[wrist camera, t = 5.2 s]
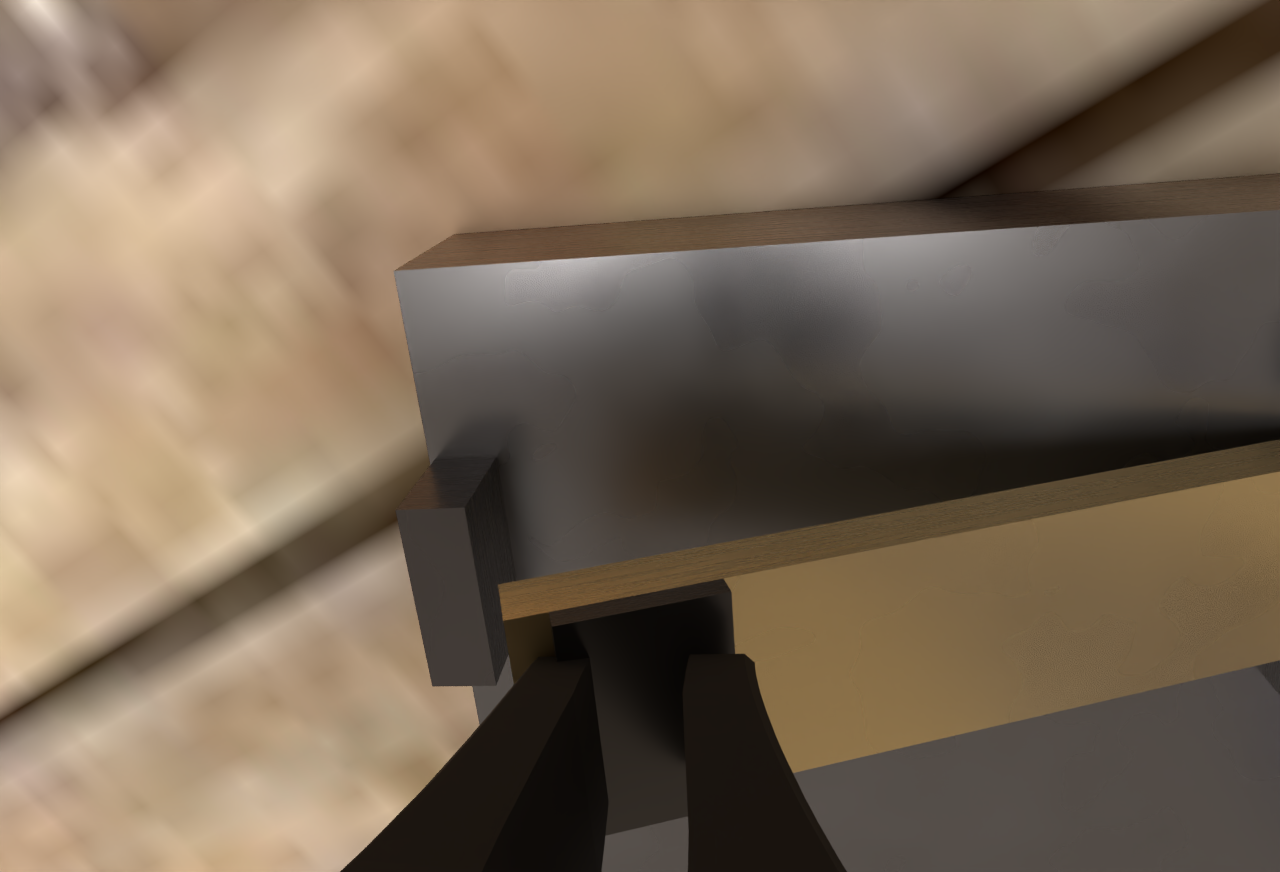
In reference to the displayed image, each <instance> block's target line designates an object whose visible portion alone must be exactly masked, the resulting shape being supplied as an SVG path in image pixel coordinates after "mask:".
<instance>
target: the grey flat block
mask: <svg viewBox="0 0 1280 872" xmlns="http://www.w3.org/2000/svg"><path fill="white" fill-rule="evenodd" d="M394 275H395V280H396V286H397V291H398V296H399V301H400V307H401V312H402V317H403V323H404V328H405V333H406V338H407V344H408V349H409V354H410V359H411V365H412V370H413V375H414V381H415V386H416V391H417V396H418V402H419V407H420V412H421V418H422V423H423V428H424V433H425V439H426V444H427V449H428V455H429V460H430V466H429V467H428V469H427V470H426V471H425V473H424V474H423V475H422V476H421V478H420V479H419V480H418V482H417V483H416V484H415V486H414V487H413V488H412V489H411V491H410V492H409V493H408V495H407V496H406V497H405V498H404V500H403V501H402V502H401V504H400V505H399V506H398V508H397V509H396V514H397V519H398V524H399V529H400V534H401V538H402V543H403V548H404V553H405V558H406V562H407V567H408V572H409V577H410V581H411V586H412V591H413V596H414V601H415V605H416V610H417V615H418V620H419V625H420V629H421V634H422V639H423V644H424V648H425V653H426V658H427V663H428V668H429V672H430V677H431V682H432V686H472V687H473V692H474V697H475V703H476V708H477V713H478V719H479V724H481V723H482V722H483V721H484V720H485V719H486V717H487V716H488V715H489V714H490V713H491V711H492V710H493V709H494V708H495V707H496V705H497V704H498V703H499V702H500V701H501V699H502V698H503V697H504V696H505V695H506V693H507V692H508V691H509V690H510V689H511V687H512V686H513V685H514V682H513V677H512V671H511V665H510V659H509V653H508V647H507V641H506V635H505V629H504V623H503V617H502V610H501V602H500V595H499V588H498V584H503V583H509V582H514V581H520V580H525V579H530V578H536V577H541V576H546V575H552V574H557V573H563V572H568V571H573V570H579V569H584V568H590V567H595V566H600V565H606V564H611V563H616V562H622V561H627V560H633V559H638V558H643V557H649V556H654V555H660V554H665V553H670V552H676V551H681V550H686V549H692V548H697V547H703V546H708V545H713V544H719V543H724V542H730V541H735V540H740V539H746V538H751V537H757V536H762V535H767V534H773V533H778V532H783V531H789V530H794V529H800V528H805V527H810V526H816V525H821V524H827V523H832V522H837V521H843V520H848V519H853V518H859V517H864V516H870V515H875V514H880V513H886V512H891V511H897V510H902V509H907V508H913V507H918V506H923V505H929V504H934V503H940V502H945V501H950V500H956V499H961V498H967V497H972V496H977V495H983V494H988V493H994V492H999V491H1004V490H1010V489H1015V488H1020V487H1026V486H1031V485H1037V484H1042V483H1047V482H1053V481H1058V480H1064V479H1069V478H1074V477H1080V476H1085V475H1090V474H1096V473H1101V472H1107V471H1112V470H1117V469H1123V468H1128V467H1134V466H1139V465H1144V464H1150V463H1155V462H1160V461H1166V460H1171V459H1177V458H1182V457H1187V456H1193V455H1198V454H1204V453H1209V452H1214V451H1220V450H1225V449H1231V448H1236V447H1241V446H1247V445H1252V444H1257V443H1263V442H1268V441H1274V440H1279V439H1280V174H1270V175H1257V176H1243V177H1230V178H1216V179H1203V180H1189V181H1175V182H1162V183H1148V184H1135V185H1121V186H1108V187H1094V188H1081V189H1067V190H1053V191H1040V192H1026V193H1013V194H999V195H986V196H972V197H958V198H945V199H931V200H918V201H904V202H891V203H877V204H863V205H850V206H836V207H823V208H809V209H796V210H782V211H768V212H755V213H741V214H728V215H714V216H701V217H687V218H673V219H660V220H646V221H633V222H619V223H606V224H592V225H578V226H565V227H551V228H538V229H524V230H511V231H497V232H484V233H470V234H456V235H452V236H451V237H449V238H447V239H446V240H444V241H442V242H441V243H439V244H437V245H436V246H434V247H432V248H431V249H429V250H428V251H426V252H424V253H423V254H421V255H419V256H418V257H416V258H414V259H413V260H411V261H409V262H408V263H406V264H404V265H403V266H401V267H399V268H398V269H396V270H395V271H394ZM793 774H794V776H795V778H796V780H797V782H798V784H799V786H800V788H801V791H802V793H803V795H804V797H805V799H806V801H807V802H808V804H809V806H810V808H811V810H812V812H813V814H814V816H815V817H816V819H817V821H818V823H819V825H820V826H821V828H822V830H823V832H824V833H825V835H826V837H827V839H828V840H829V842H830V844H831V846H832V847H833V849H834V851H835V853H836V854H837V856H838V858H839V859H840V861H841V863H842V864H843V866H844V868H845V869H846V871H847V872H1280V660H1279V661H1275V662H1270V663H1266V664H1262V665H1257V666H1253V667H1249V668H1244V669H1240V670H1236V671H1231V672H1227V673H1223V674H1218V675H1214V676H1210V677H1205V678H1201V679H1197V680H1193V681H1188V682H1184V683H1180V684H1175V685H1171V686H1167V687H1162V688H1158V689H1154V690H1149V691H1145V692H1141V693H1136V694H1132V695H1128V696H1123V697H1119V698H1115V699H1110V700H1106V701H1102V702H1098V703H1093V704H1089V705H1085V706H1080V707H1076V708H1072V709H1067V710H1063V711H1059V712H1054V713H1050V714H1046V715H1041V716H1037V717H1033V718H1028V719H1024V720H1020V721H1016V722H1011V723H1007V724H1003V725H998V726H994V727H990V728H985V729H981V730H977V731H972V732H968V733H964V734H959V735H955V736H951V737H946V738H942V739H938V740H933V741H929V742H925V743H921V744H916V745H912V746H908V747H903V748H899V749H895V750H890V751H886V752H882V753H877V754H873V755H869V756H864V757H860V758H856V759H851V760H847V761H843V762H839V763H834V764H830V765H826V766H821V767H817V768H813V769H808V770H804V771H800V772H795V773H793ZM688 836H689V829H688V816H687V817H683V818H679V819H675V820H670V821H666V822H662V823H658V824H653V825H649V826H645V827H641V828H636V829H632V830H628V831H624V832H619V833H615V834H611V835H607V836H605V845H604V854H603V863H602V872H688Z"/></svg>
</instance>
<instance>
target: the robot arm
mask: <svg viewBox="0 0 1280 872" xmlns="http://www.w3.org/2000/svg"><path fill="white" fill-rule="evenodd" d="M682 694H683V717H684V740H685V762H686V784H687V807H688V829H689V836H688V872H847V871H846V869H845V868H844V866H843V864H842V863H841V861H840V859H839V858H838V856H837V854H836V853H835V851H834V849H833V847H832V846H831V844H830V842H829V840H828V839H827V837H826V835H825V833H824V832H823V830H822V828H821V826H820V825H819V823H818V821H817V819H816V817H815V816H814V814H813V812H812V810H811V808H810V806H809V804H808V802H807V801H806V799H805V797H804V795H803V793H802V791H801V788H800V786H799V784H798V782H797V780H796V778H795V776H794V774H793V772H792V770H791V768H790V766H789V764H788V762H787V760H786V757H785V755H784V753H783V751H782V749H781V746H780V744H779V742H778V739H777V737H776V735H775V732H774V729H773V727H772V724H771V722H770V719H769V716H768V714H767V711H766V708H765V705H764V702H763V699H762V696H761V693H760V689H759V685H758V681H757V676H756V670H755V662H754V661H752V660H751V659H750V658H749V657H748V656H747V655H746V654H692V655H689V659H688V664H687V669H686V674H685V680H684V687H683V693H682ZM608 805H609V800H608V793H607V785H606V777H605V770H604V762H603V755H602V747H601V739H600V732H599V724H598V716H597V709H596V701H595V694H594V686H593V678H592V671H591V663H590V658H583V659H575V660H567V661H559V662H557V660H556V657H538V658H537V659H536V660H535V661H534V662H533V663H532V664H531V665H530V666H529V667H528V668H527V669H526V671H525V672H524V673H523V674H522V675H521V677H520V678H519V679H518V680H517V681H516V683H515V684H514V685H513V686H512V687H511V689H510V690H509V691H508V692H507V693H506V695H505V696H504V697H503V698H502V699H501V701H500V702H499V703H498V704H497V705H496V707H495V708H494V709H493V710H492V711H491V713H490V714H489V715H488V716H487V717H486V719H485V720H484V721H483V722H482V723H481V724H480V726H479V727H478V728H477V729H476V730H475V732H474V733H473V734H472V735H471V736H470V737H469V739H468V740H467V741H466V742H465V743H464V744H463V745H462V746H461V748H460V749H459V750H458V751H457V752H456V753H455V754H454V755H453V756H452V758H451V759H450V760H449V761H448V762H447V763H446V764H445V765H444V767H443V768H442V769H441V770H440V771H439V772H438V773H437V774H436V776H435V777H434V778H433V779H432V780H431V781H430V782H429V783H428V784H427V785H426V787H425V788H424V789H423V790H422V791H421V792H420V793H419V794H418V795H417V796H416V797H415V798H414V799H413V800H412V801H411V802H410V803H409V804H408V805H407V806H406V807H405V808H404V809H403V810H402V811H401V812H400V813H399V814H398V815H397V816H396V817H395V818H394V819H393V820H392V822H391V823H390V824H389V825H388V826H387V827H386V828H385V829H384V830H383V831H382V832H381V833H380V834H379V835H378V836H377V837H376V838H375V839H374V840H373V841H372V842H371V843H370V844H369V845H368V846H367V847H366V848H365V849H364V850H363V851H362V852H361V853H360V854H359V855H357V856H356V857H355V858H354V859H353V860H352V861H351V862H350V863H349V864H348V865H347V866H346V867H345V868H344V869H343V870H341V871H340V872H602V863H603V854H604V845H605V835H606V825H607V815H608Z"/></svg>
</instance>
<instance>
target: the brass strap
mask: <svg viewBox="0 0 1280 872" xmlns="http://www.w3.org/2000/svg"><path fill="white" fill-rule="evenodd" d="M498 588H499V595H500V602H501V610H502V617H503V623H504V629H505V635H506V641H507V647H508V653H509V659H510V665H511V671H512V677H513V682H514V684H515V683H516V681H517V680H518V679H519V678H520V677H521V675H522V674H523V673H524V672H525V671H526V669H527V668H528V667H529V666H530V665H531V664H532V663H533V662H534V661H535V660H536V659H537V658H538V657H556V660H557V662H559V661H567V660H575V659H583V658H590V663H591V671H592V678H593V686H594V694H595V701H596V709H597V716H598V724H599V732H600V739H601V747H602V755H603V762H604V770H605V777H606V785H607V793H608V800H609V805H608V815H607V825H606V835H605V836H607V835H611V834H615V833H619V832H624V831H628V830H632V829H636V828H641V827H645V826H649V825H653V824H658V823H662V822H666V821H670V820H675V819H679V818H683V817H687V816H688V807H687V784H686V762H685V740H684V717H683V694H682V693H683V687H684V680H685V674H686V669H687V664H688V659H689V655H692V654H746V655H747V656H748V657H749V658H750V659H751V660H752V661H754V662H755V670H756V676H757V681H758V685H759V689H760V693H761V696H762V699H763V702H764V705H765V708H766V711H767V714H768V716H769V719H770V722H771V724H772V727H773V729H774V732H775V735H776V737H777V739H778V742H779V744H780V746H781V749H782V751H783V753H784V755H785V757H786V760H787V762H788V764H789V766H790V768H791V770H792V772H793V773H795V772H800V771H804V770H808V769H813V768H817V767H821V766H826V765H830V764H834V763H839V762H843V761H847V760H851V759H856V758H860V757H864V756H869V755H873V754H877V753H882V752H886V751H890V750H895V749H899V748H903V747H908V746H912V745H916V744H921V743H925V742H929V741H933V740H938V739H942V738H946V737H951V736H955V735H959V734H964V733H968V732H972V731H977V730H981V729H985V728H990V727H994V726H998V725H1003V724H1007V723H1011V722H1016V721H1020V720H1024V719H1028V718H1033V717H1037V716H1041V715H1046V714H1050V713H1054V712H1059V711H1063V710H1067V709H1072V708H1076V707H1080V706H1085V705H1089V704H1093V703H1098V702H1102V701H1106V700H1110V699H1115V698H1119V697H1123V696H1128V695H1132V694H1136V693H1141V692H1145V691H1149V690H1154V689H1158V688H1162V687H1167V686H1171V685H1175V684H1180V683H1184V682H1188V681H1193V680H1197V679H1201V678H1205V677H1210V676H1214V675H1218V674H1223V673H1227V672H1231V671H1236V670H1240V669H1244V668H1249V667H1253V666H1257V665H1262V664H1266V663H1270V662H1275V661H1279V660H1280V439H1279V440H1274V441H1268V442H1263V443H1257V444H1252V445H1247V446H1241V447H1236V448H1231V449H1225V450H1220V451H1214V452H1209V453H1204V454H1198V455H1193V456H1187V457H1182V458H1177V459H1171V460H1166V461H1160V462H1155V463H1150V464H1144V465H1139V466H1134V467H1128V468H1123V469H1117V470H1112V471H1107V472H1101V473H1096V474H1090V475H1085V476H1080V477H1074V478H1069V479H1064V480H1058V481H1053V482H1047V483H1042V484H1037V485H1031V486H1026V487H1020V488H1015V489H1010V490H1004V491H999V492H994V493H988V494H983V495H977V496H972V497H967V498H961V499H956V500H950V501H945V502H940V503H934V504H929V505H923V506H918V507H913V508H907V509H902V510H897V511H891V512H886V513H880V514H875V515H870V516H864V517H859V518H853V519H848V520H843V521H837V522H832V523H827V524H821V525H816V526H810V527H805V528H800V529H794V530H789V531H783V532H778V533H773V534H767V535H762V536H757V537H751V538H746V539H740V540H735V541H730V542H724V543H719V544H713V545H708V546H703V547H697V548H692V549H686V550H681V551H676V552H670V553H665V554H660V555H654V556H649V557H643V558H638V559H633V560H627V561H622V562H616V563H611V564H606V565H600V566H595V567H590V568H584V569H579V570H573V571H568V572H563V573H557V574H552V575H546V576H541V577H536V578H530V579H525V580H520V581H514V582H509V583H503V584H498Z"/></svg>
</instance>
